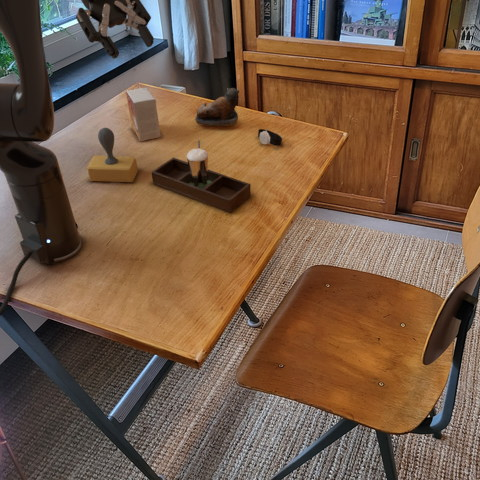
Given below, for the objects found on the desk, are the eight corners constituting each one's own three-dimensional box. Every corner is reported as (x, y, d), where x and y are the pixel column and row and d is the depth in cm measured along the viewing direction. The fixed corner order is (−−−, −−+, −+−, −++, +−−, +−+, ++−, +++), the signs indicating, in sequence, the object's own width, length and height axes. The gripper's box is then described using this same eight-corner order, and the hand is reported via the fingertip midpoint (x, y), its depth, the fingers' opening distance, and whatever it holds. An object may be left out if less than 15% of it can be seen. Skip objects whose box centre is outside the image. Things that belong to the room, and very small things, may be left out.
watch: (253, 139, 149) (252, 126, 146) (267, 133, 151) (267, 120, 149) (272, 150, 144) (272, 137, 142) (286, 144, 147) (287, 131, 144)
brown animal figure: (193, 129, 153) (190, 92, 146) (199, 117, 158) (195, 81, 151) (239, 131, 152) (237, 94, 145) (242, 119, 157) (241, 83, 151)
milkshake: (213, 180, 132) (209, 140, 126) (208, 193, 128) (204, 153, 122) (193, 179, 133) (188, 139, 126) (188, 192, 129) (183, 151, 122)
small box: (132, 128, 153) (125, 90, 146) (152, 124, 155) (146, 86, 148) (140, 142, 148) (132, 102, 141) (161, 137, 149) (155, 98, 143)
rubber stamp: (138, 170, 137) (129, 123, 129) (132, 183, 133) (122, 135, 125) (97, 168, 138) (85, 121, 130) (89, 181, 134) (77, 134, 126)
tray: (230, 213, 124) (229, 200, 122) (153, 184, 133) (151, 171, 131) (250, 196, 129) (250, 184, 127) (174, 169, 138) (173, 157, 136)
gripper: (61, -28, 108) (110, 49, 110) (124, -42, 116) (168, 31, 118) (53, -3, 115) (99, 70, 116) (113, -18, 122) (155, 50, 124)
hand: (134, 50), depth 117 cm, fingers open, 8 cm apart
